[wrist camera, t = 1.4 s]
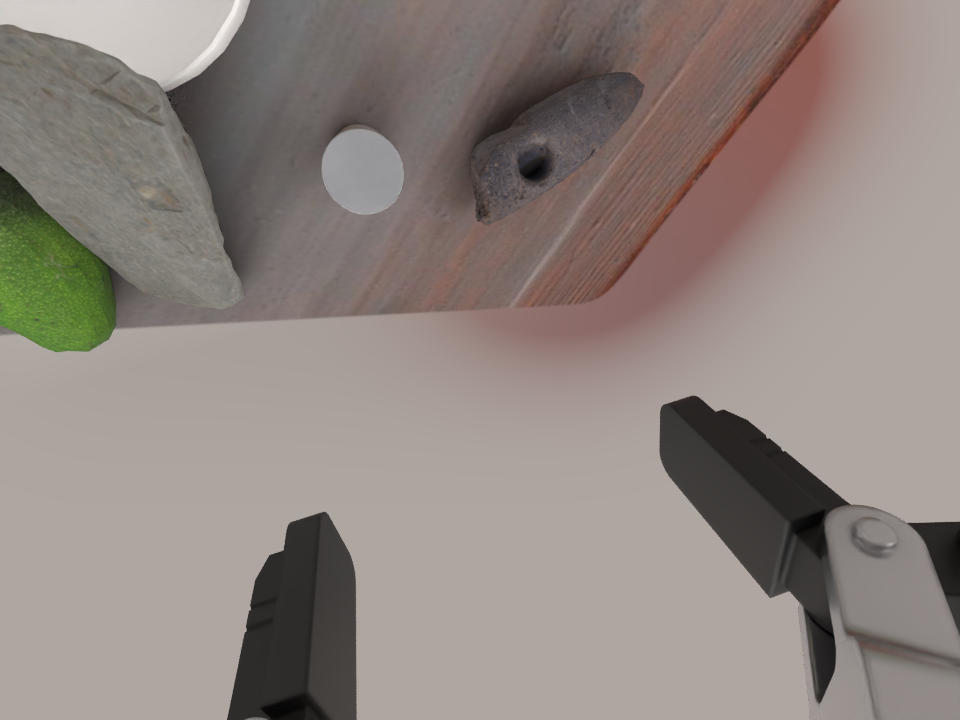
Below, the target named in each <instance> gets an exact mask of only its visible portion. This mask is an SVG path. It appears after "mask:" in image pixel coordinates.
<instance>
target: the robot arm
mask: <svg viewBox="0 0 960 720" xmlns="http://www.w3.org/2000/svg"><path fill="white" fill-rule="evenodd" d="M660 457H661V461H662V463H663V466H664V468H665V470H666V472H667V473H668V475H669V477H670V478H671V479H672V480H673V482H674V483H675V484H676V485H677V486H678V487H679V489H680V490H681V491H682V492H683V494H684V495H685V496H686V497H687V498H688V500H689V501H690V502H691V503H692V504H693V506H694V507H695V508H696V509H697V511H698V512H699V513H700V514H701V515H702V517H703V518H704V519H705V520H706V521H707V522H708V524H709V525H710V526H711V527H712V529H713V530H714V531H715V532H716V533H717V535H718V536H719V537H720V538H721V539H722V540H723V542H724V543H725V544H726V545H727V547H728V548H729V549H730V550H731V551H732V553H733V554H734V555H735V556H736V557H737V559H738V560H739V561H740V562H741V564H742V565H743V566H744V567H745V568H746V569H747V571H748V572H749V573H750V574H751V576H752V577H753V578H754V579H755V580H756V582H757V583H758V584H759V585H760V586H761V588H762V589H763V590H764V591H765V592H766V594H767V595H768V596H769V597H770V598H772V597H774V596H777V595H779V594H782V593H785V592H788V591H790V592H791V593H792V594H793V596H795V598H796V599H797V600H798V601H799V606H798V614H799V623H800V631H801V640H802V648H803V658H804V665H805V675H806V684H807V692H808V701H809V720H960V522H935V523H906V522H904V521H903V520H901V519H900V518H898V517H896V516H894V515H892V514H890V513H888V512H885V511H883V510H880V509H877V508H873V507H869V506H863V505H851V504H849V503H848V502H846V501H845V500H844V499H842V498H841V497H840V496H839V495H838V494H836V493H835V492H834V491H833V490H832V489H830V488H829V487H828V486H827V485H825V484H824V483H823V482H822V481H821V480H819V479H818V478H817V477H816V476H814V475H813V474H812V473H811V472H809V471H808V470H807V469H806V468H805V467H804V466H802V465H801V464H800V463H799V462H798V461H796V460H795V459H794V458H793V457H791V456H790V455H789V454H788V453H787V452H785V451H784V452H783V451H782V450H781V448H780V447H779V446H778V445H777V444H776V443H774V442H773V441H772V440H771V439H770V438H769V439H767V438H766V435H765V434H764V433H762V432H761V431H760V430H759V429H757V428H756V427H755V426H754V425H753V424H751V423H750V422H749V421H748V420H746V419H744V418H741V417H739V416H737V415H735V414H732V413H730V412H728V411H726V410H720V411H717V412H715V411H714V410H713V409H712V408H711V407H709V406H708V405H707V404H706V403H705V402H704V401H703V400H701V399H700V398H699V397H697V396H690V397H687V398H684V399H681V400H678V401H674V402H671V403H668V404H665V405H663V406H662V407H661V411H660ZM250 606H251V610H250V611H249V614H248V619H247V625H246V628H247V632H245V634H244V639H243V644H242V649H241V654H240V659H239V664H238V669H237V674H236V679H235V684H234V689H233V694H232V699H231V704H230V709H229V714H228V718H227V720H356V579H355V571H354V566H353V562H352V559H351V556H350V553H349V551H348V549H347V548H346V546H345V544H344V542H343V541H342V539H341V537H340V535H339V533H338V531H337V529H336V528H335V526H334V524H333V522H332V520H331V519H330V517H329V515H328V514H327V513H326V512H322V513H318V514H315V515H313V516H309V517H306V518H303V519H300V520H296V521H293V522H291V523H290V524H289V525H288V527H287V532H286V539H285V545H284V551H281V552H278V553H275V554H272V555H269V557H268V559H267V561H266V562H265V564H264V566H263V568H262V570H261V571H260V573H259V575H258V576H257V578H256V580H255V585H254V589H253V594H252V600H251V604H250Z"/></svg>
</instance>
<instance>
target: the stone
mask: <svg viewBox="0 0 960 720" xmlns="http://www.w3.org/2000/svg"><path fill="white" fill-rule="evenodd" d="M0 165H1V167H2V168H3V169H5V170H6V171H8V172H9V173H10V174H11V175H12V176H14V177H15V178H16V179H17V180H18V182H19V183H20V184H21V185H22V186H23V187H24V188H25V189H26V190H27V191H28V192H29V193H30V194H31V195H32V197H33V198H34V199H35V200H36V202H37V203H38V205H39V206H41V207H42V208H43V209H44V210H45V211H46V212H47V213H48V214H49V215H51V216H52V217H53V218H54V219H55V220H56V221H57V222H58V223H59V224H60V225H61V226H62V227H63V228H65V229H66V230H67V231H68V232H69V233H70V234H71V235H72V236H73V237H75V238H76V239H77V240H78V241H79V242H80V243H82V244H83V245H84V246H85V247H86V248H88V249H89V250H90V251H91V252H92V253H94V254H95V255H97V256H98V257H99V258H100V259H102V260H103V261H104V262H105V263H107V264H108V265H109V266H110V267H111V268H113V269H114V270H115V271H116V272H118V274H120V275H121V276H122V277H123V278H125V279H126V280H127V281H128V282H130V283H132V284H134V285H135V286H136V287H137V288H138V289H140V290H141V291H143V292H145V293H148V294H150V295H152V296H157V297H161V298H163V299H165V300H169V301H173V302H177V303H183V304H187V305H193V306H201V307H210V308H213V309H221V310H222V309H226V308H228V307H231V306H234V305H235V304H236V303H237V302H238V301H239V300H241V299H242V298H243V297H244V296H245V292H244V288H243V285H242V283H241V281H240V279H239V276H238V275H237V274H236V272H235V271H234V269H233V268H232V262H231V260H230V258H229V256H228V255H227V254H226V252H225V251H224V248H223V244H224V238H223V236H222V233H221V231H220V228H219V222H218V217H217V215H216V213H215V211H214V205H213V202H212V195H211V189H210V187H209V184H208V182H207V179H206V177H205V174H204V172H203V167H202V164H201V161H200V158H199V156H198V153H197V150H196V148H195V145H194V143H193V141H192V139H191V137H190V136H189V134H188V133H187V132H185V131H184V129H183V127H182V124H181V122H180V120H179V118H178V116H177V114H176V113H175V112H174V110H173V109H172V107H171V104H170V102H169V100H168V97H167V95H166V93H165V92H164V91H163V89H162V88H161V87H160V85H159V84H158V83H157V82H156V81H155V80H153V79H151V78H149V77H147V76H144V75H140V74H137V73H136V72H134V71H133V70H132V69H130V68H129V67H128V66H127V65H126V64H125V63H124V62H122V61H121V60H120V59H118V58H116V57H114V56H111V55H109V54H106V53H104V52H101V51H98V50H96V49H94V48H92V47H90V46H87V45H85V44H82V43H78V42H75V41H71V40H67V39H63V38H59V37H55V36H51V35H48V34H44V33H35V32H31V31H27V30H24V29H21V28H19V27H17V26H15V25H10V24H4V25H0Z"/></svg>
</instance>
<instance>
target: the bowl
mask: <svg viewBox="0 0 960 720" xmlns="http://www.w3.org/2000/svg"><path fill="white" fill-rule="evenodd" d="M249 3H250V0H0V25H4V24H10V25H15V26H17V27H19V28H21V29H24V30H27V31H31V32H35V33H44V34H48V35H51V36H55V37H59V38H63V39H67V40H71V41H75V42H78V43H82V44H85V45H87V46H90V47H92V48H94V49H96V50H98V51H101V52H104V53H106V54H109V55H111V56H114V57H116V58H118V59H120V60H121V61H122V62H124V63H125V64H126V65H127V66H128V67H129V68H130V69H132V70H133V71H134V72H136V73H137V74H140V75H144V76H147V77H149V78H151V79H153V80H155V81H156V82H157V83H158V84H159V85H160V87H161V88H162V89H163V91H164V92H167V91H170V90H172V89H174V88H176V87H178V86H179V85H181V84H183V83H185V82H187V81H189V80H190V79H192V78H194V77H196V76H198V75H199V74H201V73H202V72H203V71H204V70H205V69H206V68H207V67H208V66H209V65H210V64H211V63H212V62H213V61H214V60H215V59H217V58H218V57H219V56H220V55H221V54H222V53H223V52H224V51H225V49H226V48H227V46H228V45H229V43H230V41H231V40H232V38H233V37H234V35H235V33H236V32H237V30H238V29H239V27H240V25H241V24H242V22H243V20H244V17H245V15H246V12H247V9H248V6H249Z"/></svg>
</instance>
